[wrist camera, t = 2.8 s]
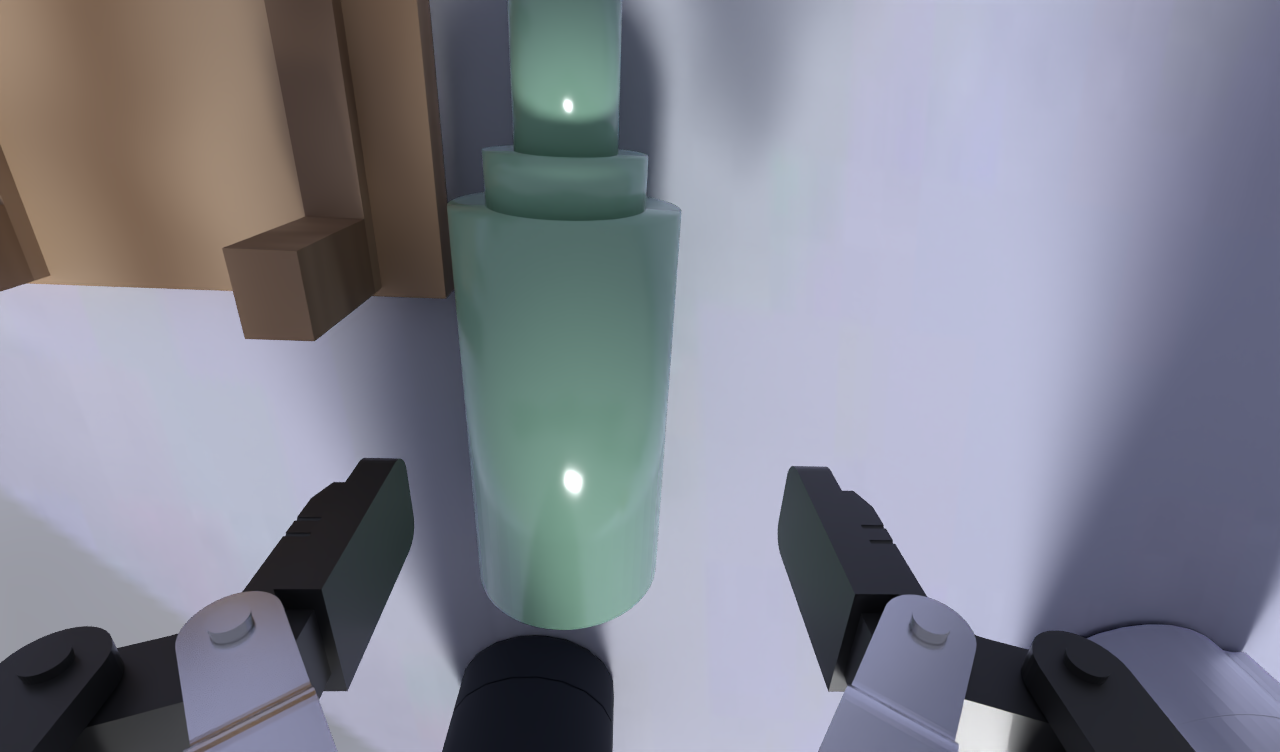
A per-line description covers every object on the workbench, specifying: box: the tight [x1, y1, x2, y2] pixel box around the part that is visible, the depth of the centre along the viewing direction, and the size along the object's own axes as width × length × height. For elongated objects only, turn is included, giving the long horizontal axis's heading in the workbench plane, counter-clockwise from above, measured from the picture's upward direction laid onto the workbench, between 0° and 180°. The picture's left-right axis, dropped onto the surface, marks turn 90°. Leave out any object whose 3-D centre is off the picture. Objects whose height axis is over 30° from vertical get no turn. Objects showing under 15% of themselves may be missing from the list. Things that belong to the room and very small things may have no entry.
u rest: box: [0, 0, 454, 341], centre depth 13 cm, size 14×11×5 cm
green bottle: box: [447, 0, 681, 630], centre depth 16 cm, size 16×6×6 cm
